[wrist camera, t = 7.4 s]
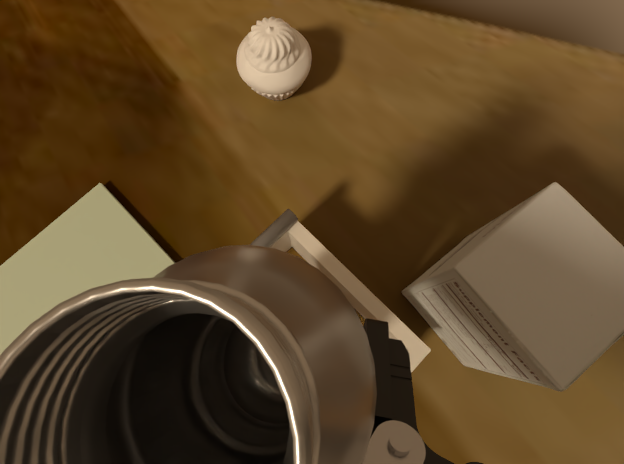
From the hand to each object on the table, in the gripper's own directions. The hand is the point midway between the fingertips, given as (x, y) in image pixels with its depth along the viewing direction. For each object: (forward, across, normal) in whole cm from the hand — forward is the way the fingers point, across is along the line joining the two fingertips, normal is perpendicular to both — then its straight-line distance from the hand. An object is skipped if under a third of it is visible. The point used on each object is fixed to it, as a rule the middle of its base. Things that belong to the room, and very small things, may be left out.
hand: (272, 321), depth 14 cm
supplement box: (+15, -12, +9) cm, 22 cm away
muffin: (+27, +6, -2) cm, 27 cm away
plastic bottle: (+6, 0, +9) cm, 11 cm away
